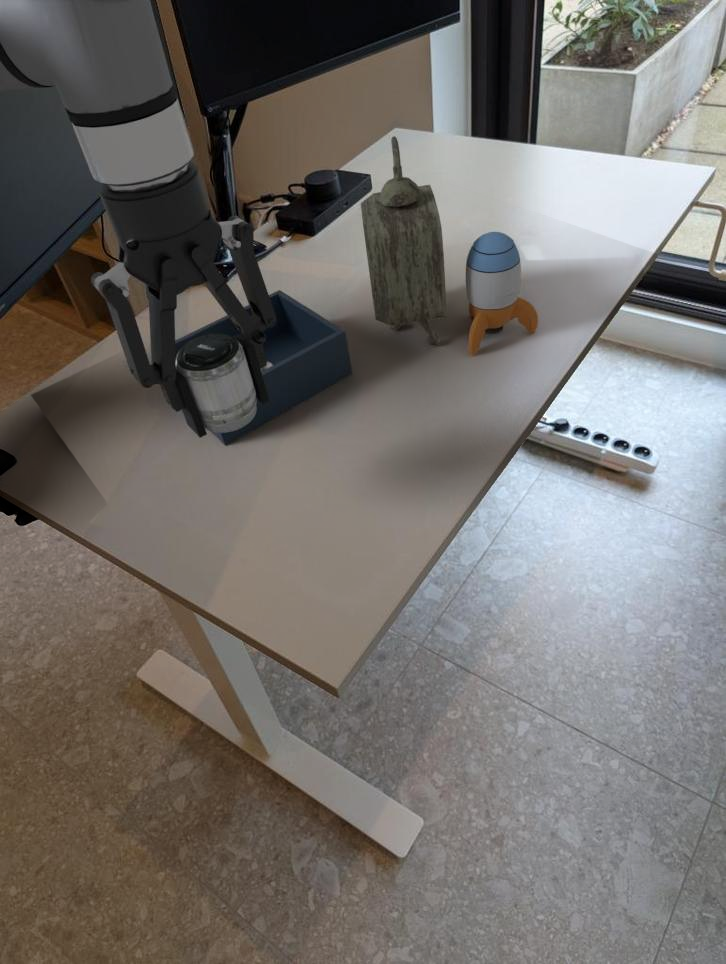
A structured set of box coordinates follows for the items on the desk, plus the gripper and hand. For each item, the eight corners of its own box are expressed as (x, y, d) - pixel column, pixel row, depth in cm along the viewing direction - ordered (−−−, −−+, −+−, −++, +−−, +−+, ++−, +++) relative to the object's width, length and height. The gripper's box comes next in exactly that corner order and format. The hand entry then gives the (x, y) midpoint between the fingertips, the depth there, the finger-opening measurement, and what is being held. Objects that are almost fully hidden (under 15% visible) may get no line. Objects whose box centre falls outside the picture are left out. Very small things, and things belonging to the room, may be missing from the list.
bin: (170, 391, 92) (153, 350, 88) (289, 330, 99) (279, 289, 95) (225, 445, 83) (209, 403, 78) (352, 373, 90) (345, 331, 85)
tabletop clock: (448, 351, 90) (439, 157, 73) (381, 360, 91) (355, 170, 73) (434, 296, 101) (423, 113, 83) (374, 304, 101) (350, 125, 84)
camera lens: (236, 442, 64) (212, 374, 58) (184, 426, 66) (157, 360, 60) (272, 401, 67) (253, 333, 62) (222, 388, 70) (199, 322, 64)
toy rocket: (455, 322, 97) (473, 214, 87) (530, 332, 96) (557, 224, 87) (451, 355, 89) (470, 240, 79) (533, 366, 88) (562, 251, 79)
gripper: (234, 121, 56) (291, 354, 72) (4, 203, 49) (123, 440, 65) (282, 140, 51) (330, 385, 67) (34, 234, 44) (155, 481, 61)
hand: (228, 412), depth 66 cm, fingers closed on camera lens, 6 cm apart
